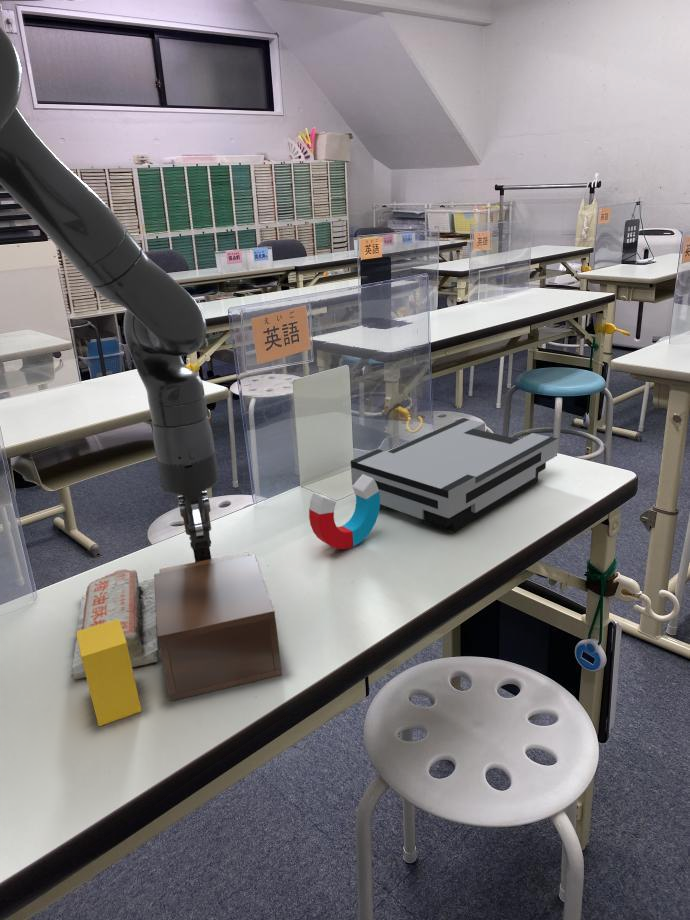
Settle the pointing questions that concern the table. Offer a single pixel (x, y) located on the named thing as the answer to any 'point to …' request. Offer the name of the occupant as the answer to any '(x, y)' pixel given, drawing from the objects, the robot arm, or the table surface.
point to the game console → (455, 472)
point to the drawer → (204, 562)
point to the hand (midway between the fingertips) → (204, 567)
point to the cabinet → (215, 627)
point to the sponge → (108, 671)
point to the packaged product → (121, 615)
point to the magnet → (359, 522)
